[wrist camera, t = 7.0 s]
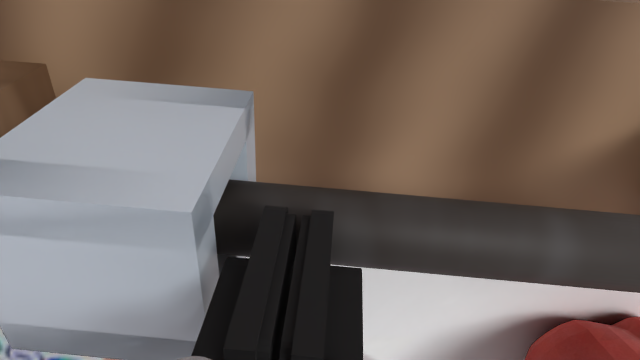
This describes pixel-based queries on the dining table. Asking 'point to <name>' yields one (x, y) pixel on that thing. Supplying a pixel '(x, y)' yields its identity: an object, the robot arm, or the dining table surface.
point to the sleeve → (118, 216)
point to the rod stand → (390, 120)
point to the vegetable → (589, 341)
